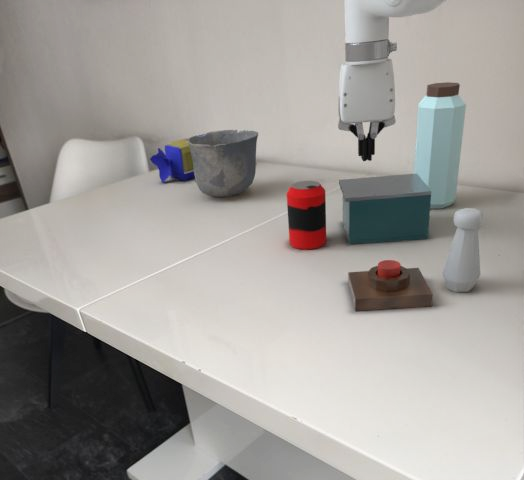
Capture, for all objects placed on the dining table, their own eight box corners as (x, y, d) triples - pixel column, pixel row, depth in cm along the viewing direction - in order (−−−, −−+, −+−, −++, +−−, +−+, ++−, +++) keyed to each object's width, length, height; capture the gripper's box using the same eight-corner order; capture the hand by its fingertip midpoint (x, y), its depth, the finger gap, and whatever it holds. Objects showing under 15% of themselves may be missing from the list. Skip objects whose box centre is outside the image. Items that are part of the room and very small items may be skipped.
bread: (238, 166, 169) (234, 132, 163) (171, 186, 156) (165, 149, 151) (219, 162, 176) (215, 129, 170) (153, 181, 163) (147, 145, 157)
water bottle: (448, 212, 119) (461, 88, 106) (404, 207, 124) (411, 88, 111) (460, 198, 126) (474, 80, 113) (418, 194, 131) (426, 81, 118)
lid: (345, 201, 104) (345, 197, 104) (338, 183, 115) (338, 179, 114) (431, 195, 103) (431, 190, 103) (416, 177, 114) (417, 173, 113)
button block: (417, 279, 93) (419, 257, 91) (431, 306, 85) (434, 283, 83) (348, 283, 94) (348, 262, 92) (355, 311, 86) (355, 288, 83)
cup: (253, 181, 153) (248, 125, 145) (270, 198, 139) (266, 137, 130) (192, 191, 150) (183, 134, 142) (202, 209, 135) (193, 147, 127)
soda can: (303, 253, 107) (301, 193, 100) (282, 243, 112) (278, 185, 106) (333, 243, 110) (333, 184, 103) (311, 233, 116) (309, 177, 109)
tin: (349, 244, 109) (349, 201, 104) (342, 223, 119) (342, 183, 115) (427, 239, 108) (431, 195, 103) (413, 217, 118) (416, 177, 114)
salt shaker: (461, 298, 86) (472, 219, 79) (433, 286, 90) (441, 211, 83) (485, 287, 89) (497, 210, 82) (457, 276, 93) (466, 202, 86)
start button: (397, 269, 89) (398, 259, 88) (402, 278, 86) (402, 268, 85) (375, 270, 89) (376, 260, 88) (379, 279, 86) (379, 269, 85)
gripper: (404, 47, 98) (401, 151, 108) (323, 56, 99) (326, 158, 109) (413, 49, 92) (409, 160, 102) (326, 59, 93) (329, 167, 103)
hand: (366, 159), depth 105 cm, fingers closed
